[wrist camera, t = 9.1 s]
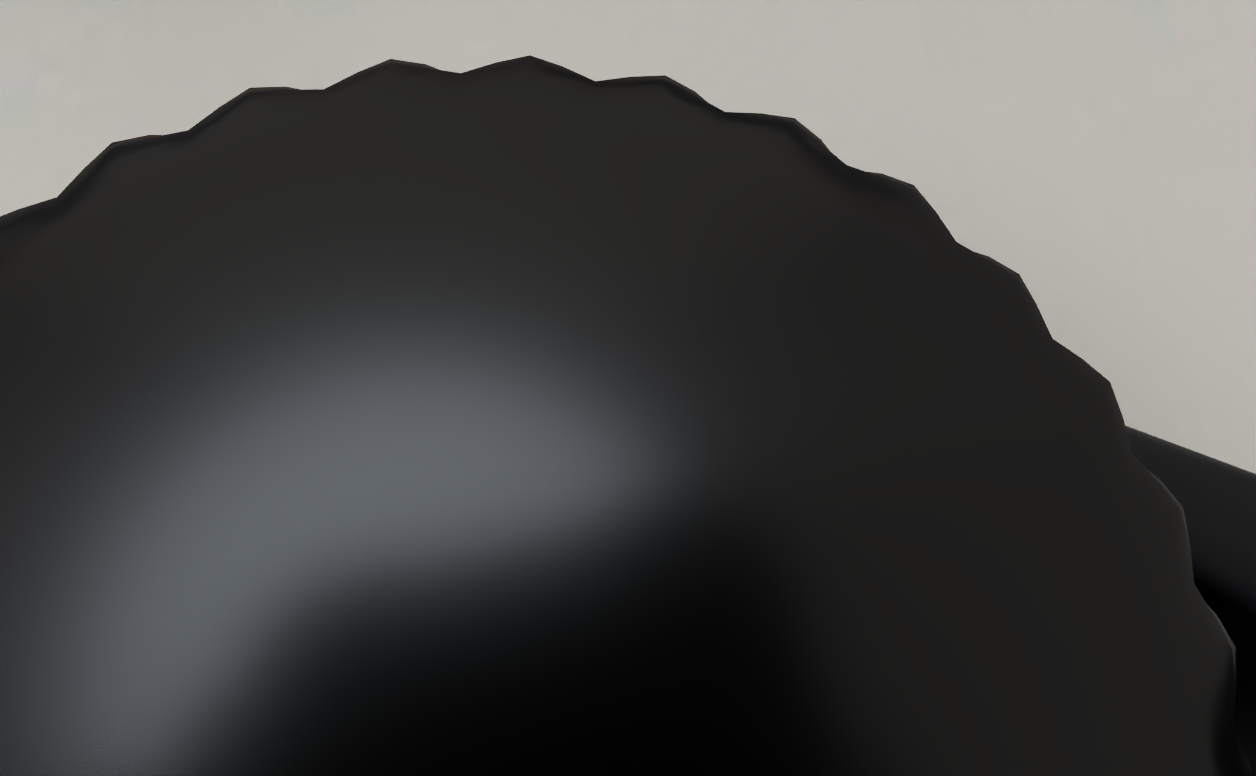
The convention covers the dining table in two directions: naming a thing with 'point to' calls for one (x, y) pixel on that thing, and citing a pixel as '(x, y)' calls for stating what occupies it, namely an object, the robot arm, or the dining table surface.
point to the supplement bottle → (562, 461)
